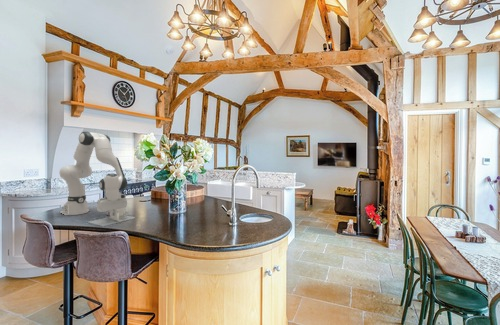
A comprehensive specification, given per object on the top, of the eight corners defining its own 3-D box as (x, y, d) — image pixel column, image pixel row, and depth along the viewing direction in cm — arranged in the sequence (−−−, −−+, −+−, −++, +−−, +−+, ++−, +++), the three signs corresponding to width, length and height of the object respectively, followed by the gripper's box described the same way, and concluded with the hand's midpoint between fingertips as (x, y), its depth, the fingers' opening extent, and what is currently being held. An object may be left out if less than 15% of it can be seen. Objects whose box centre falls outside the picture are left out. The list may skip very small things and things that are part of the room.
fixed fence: (109, 218, 191) (109, 209, 190) (123, 215, 201) (123, 206, 200) (110, 218, 190) (110, 209, 189) (125, 215, 200) (125, 206, 199)
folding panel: (117, 221, 182) (116, 212, 182) (110, 218, 189) (110, 210, 189) (119, 220, 183) (119, 212, 183) (112, 217, 191) (112, 209, 190)
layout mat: (87, 222, 181) (87, 221, 181) (120, 215, 203) (120, 214, 203) (103, 226, 172) (103, 225, 172) (135, 218, 194) (135, 217, 194)
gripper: (99, 199, 172) (100, 219, 172) (128, 194, 190) (128, 213, 190) (94, 198, 175) (95, 218, 176) (123, 194, 193) (123, 212, 193)
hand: (112, 215), depth 183 cm, fingers closed
